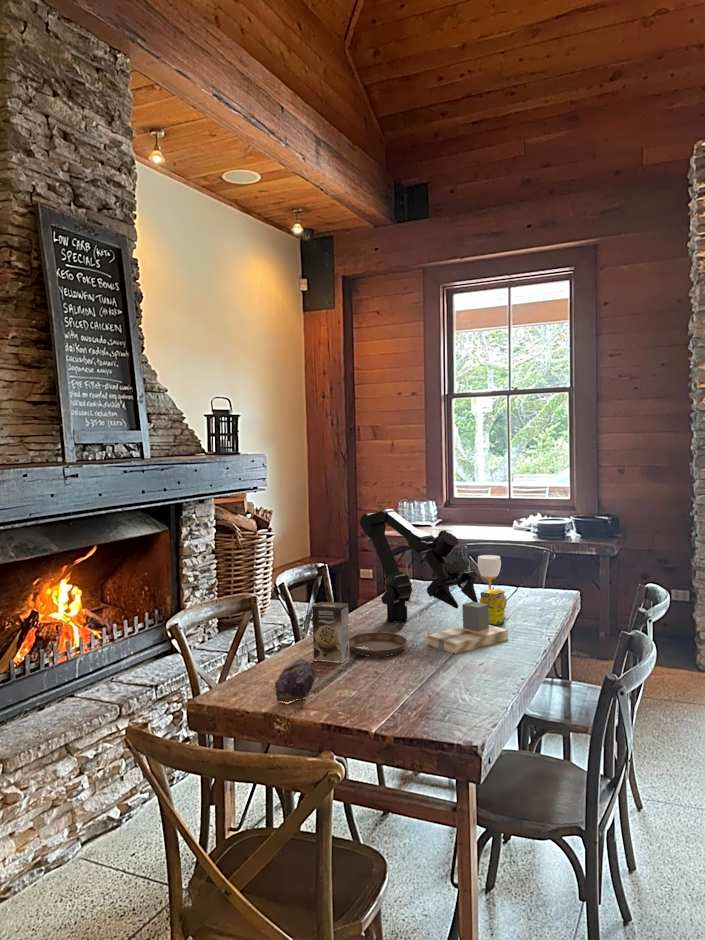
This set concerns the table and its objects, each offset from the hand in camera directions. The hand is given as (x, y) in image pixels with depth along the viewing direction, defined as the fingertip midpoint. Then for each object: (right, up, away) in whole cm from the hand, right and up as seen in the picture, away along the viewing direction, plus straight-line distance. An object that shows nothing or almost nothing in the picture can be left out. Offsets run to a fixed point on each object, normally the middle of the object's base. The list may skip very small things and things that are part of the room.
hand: (467, 604), depth 225 cm
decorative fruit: (+14, -9, +26) cm, 30 cm away
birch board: (0, -11, -4) cm, 11 cm away
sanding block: (+2, -7, -2) cm, 8 cm away
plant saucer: (-28, -12, -8) cm, 32 cm away
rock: (-49, -15, -46) cm, 69 cm away
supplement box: (+11, -9, +16) cm, 22 cm away
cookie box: (-42, -13, -16) cm, 47 cm away
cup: (+17, -7, +52) cm, 55 cm away
